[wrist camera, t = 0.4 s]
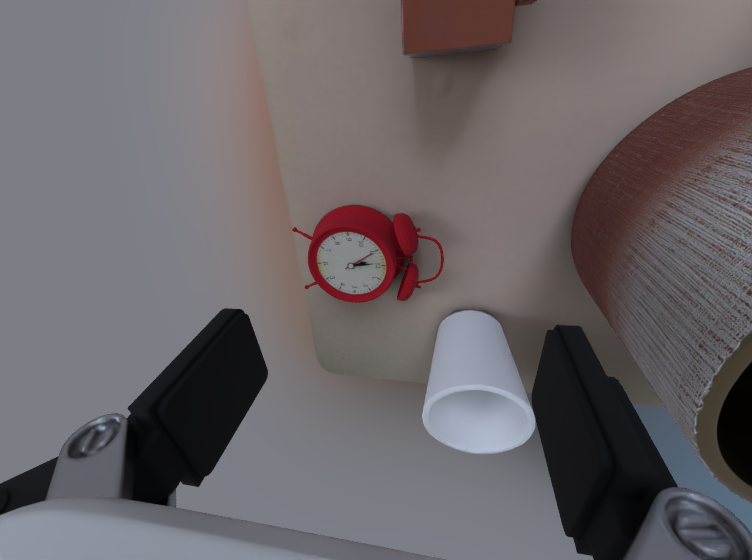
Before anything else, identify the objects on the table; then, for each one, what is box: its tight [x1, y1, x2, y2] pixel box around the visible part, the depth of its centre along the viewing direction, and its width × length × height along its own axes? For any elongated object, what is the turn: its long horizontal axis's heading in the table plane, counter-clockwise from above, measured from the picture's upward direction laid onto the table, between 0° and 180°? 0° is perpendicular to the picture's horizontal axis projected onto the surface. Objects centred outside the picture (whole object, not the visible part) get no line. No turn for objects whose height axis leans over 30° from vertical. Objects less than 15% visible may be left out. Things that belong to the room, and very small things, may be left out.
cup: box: [422, 310, 535, 454], centre depth 35 cm, size 10×10×13 cm
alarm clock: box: [293, 205, 444, 303], centre depth 35 cm, size 10×6×15 cm
